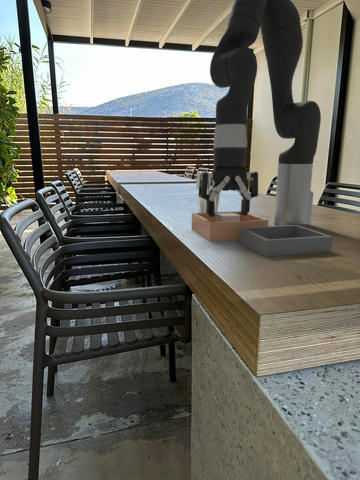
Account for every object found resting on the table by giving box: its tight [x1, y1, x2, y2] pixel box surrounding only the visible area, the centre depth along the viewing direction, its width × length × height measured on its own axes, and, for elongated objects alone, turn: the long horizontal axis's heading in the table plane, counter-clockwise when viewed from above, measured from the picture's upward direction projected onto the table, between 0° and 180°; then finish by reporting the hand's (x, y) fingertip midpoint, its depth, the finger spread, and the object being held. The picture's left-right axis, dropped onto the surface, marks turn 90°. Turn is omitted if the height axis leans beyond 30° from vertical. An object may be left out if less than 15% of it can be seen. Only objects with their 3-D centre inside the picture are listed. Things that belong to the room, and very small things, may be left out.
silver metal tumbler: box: [195, 171, 222, 213], centre depth 93 cm, size 7×7×15 cm
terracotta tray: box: [191, 210, 269, 242], centre depth 81 cm, size 14×14×5 cm
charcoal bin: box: [238, 224, 333, 257], centre depth 69 cm, size 14×12×4 cm
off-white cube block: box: [216, 213, 240, 222], centre depth 81 cm, size 4×4×4 cm
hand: (227, 215), depth 81 cm, fingers open, 8 cm apart
